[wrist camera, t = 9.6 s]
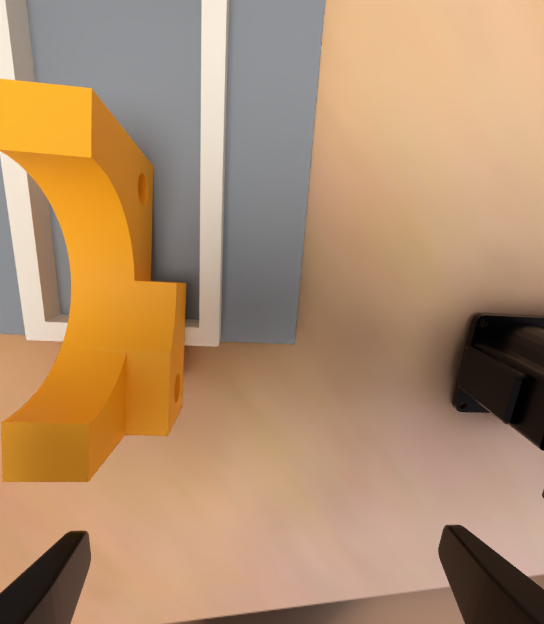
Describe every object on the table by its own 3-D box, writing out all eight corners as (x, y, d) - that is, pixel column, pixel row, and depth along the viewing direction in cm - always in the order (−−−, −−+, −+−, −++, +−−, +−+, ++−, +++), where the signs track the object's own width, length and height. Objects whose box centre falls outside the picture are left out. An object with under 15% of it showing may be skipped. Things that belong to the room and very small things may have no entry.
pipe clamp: (182, 406, 17) (144, 482, 11) (95, 404, 17) (2, 481, 10) (190, 169, 16) (154, 94, 10) (98, 161, 16) (-5, 77, 9)
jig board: (325, -31, 15) (337, -73, 13) (292, 339, 20) (298, 353, 18) (-107, -91, 13) (-174, -150, 11) (-29, 327, 18) (-66, 341, 16)
